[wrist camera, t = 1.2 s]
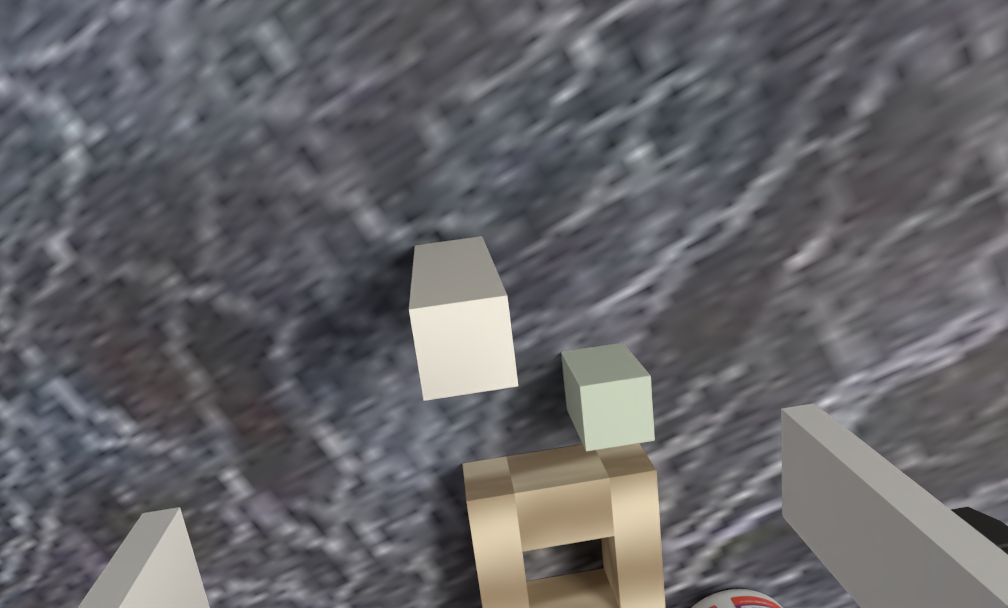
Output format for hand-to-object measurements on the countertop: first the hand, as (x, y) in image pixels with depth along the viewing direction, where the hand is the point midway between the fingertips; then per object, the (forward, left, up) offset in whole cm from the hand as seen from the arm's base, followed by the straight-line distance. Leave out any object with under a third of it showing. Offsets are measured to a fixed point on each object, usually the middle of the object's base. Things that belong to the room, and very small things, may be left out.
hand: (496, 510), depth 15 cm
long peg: (0, 0, -23) cm, 23 cm away
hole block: (+17, +4, -23) cm, 28 cm away
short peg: (+7, +7, -23) cm, 25 cm away
